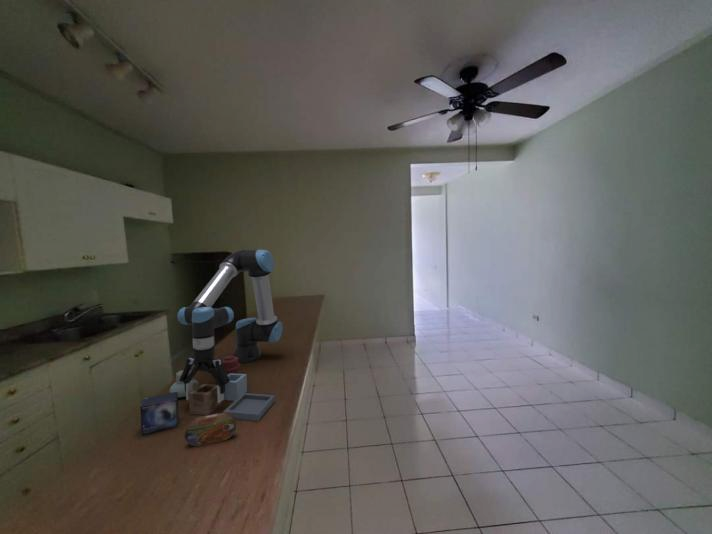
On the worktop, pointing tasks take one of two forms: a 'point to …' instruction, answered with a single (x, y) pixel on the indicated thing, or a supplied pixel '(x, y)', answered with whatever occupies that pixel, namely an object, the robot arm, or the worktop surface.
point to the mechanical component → (230, 364)
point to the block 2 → (235, 386)
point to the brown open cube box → (203, 399)
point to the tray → (250, 406)
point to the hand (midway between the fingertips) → (205, 399)
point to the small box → (159, 413)
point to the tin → (210, 429)
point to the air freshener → (182, 385)
